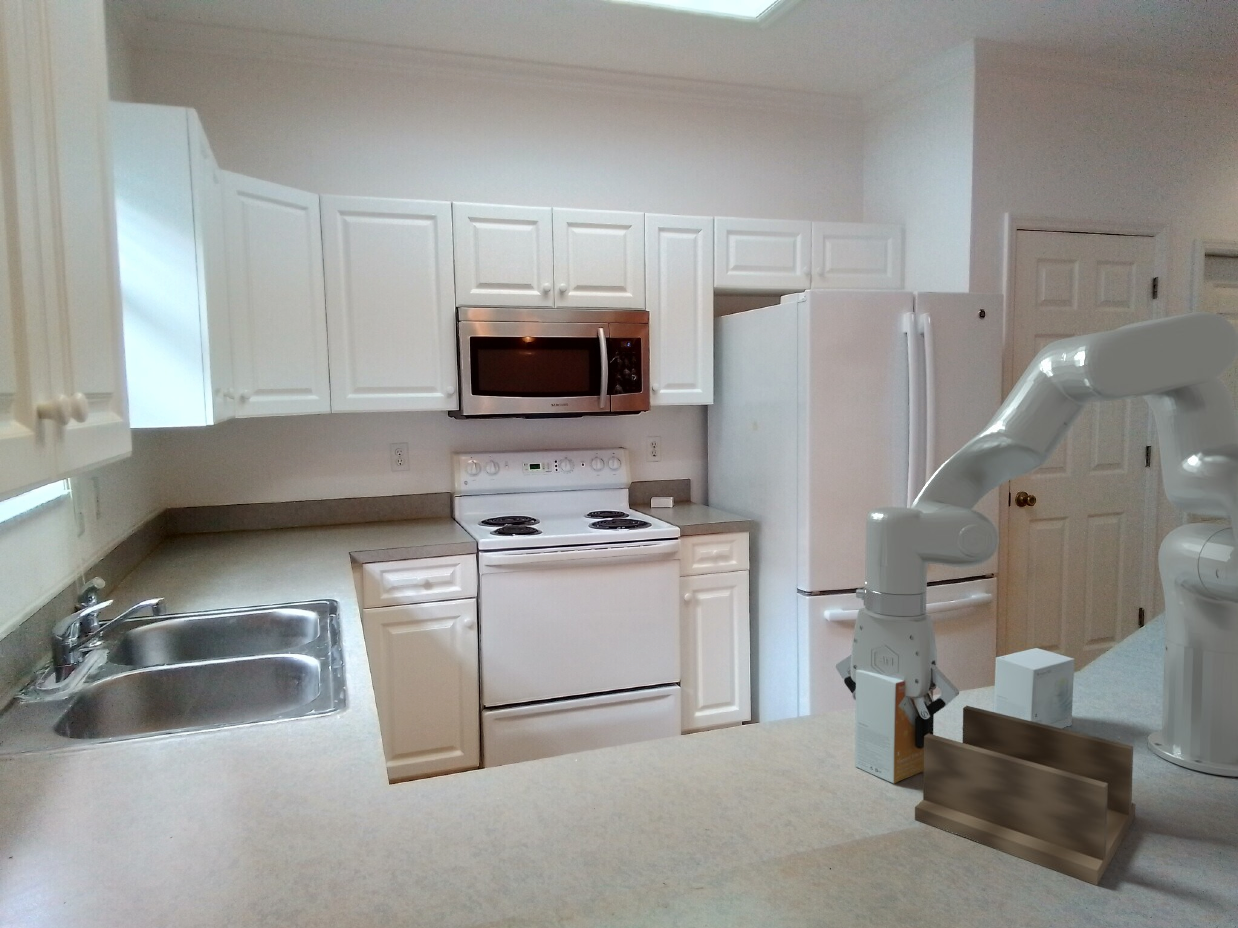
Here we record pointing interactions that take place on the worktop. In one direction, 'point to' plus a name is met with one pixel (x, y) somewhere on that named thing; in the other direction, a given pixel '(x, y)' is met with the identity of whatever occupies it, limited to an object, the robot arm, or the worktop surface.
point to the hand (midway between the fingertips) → (893, 735)
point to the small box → (885, 728)
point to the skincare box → (1035, 687)
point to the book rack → (1031, 791)
